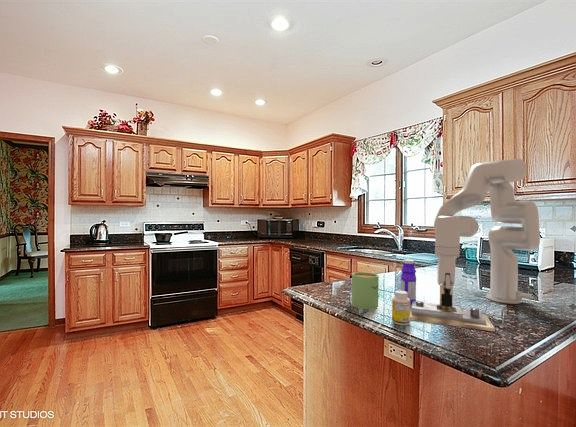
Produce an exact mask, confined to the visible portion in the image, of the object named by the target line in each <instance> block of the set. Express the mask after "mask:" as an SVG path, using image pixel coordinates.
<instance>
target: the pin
mask: <svg viewBox="0 0 576 427" xmlns="http://www.w3.org/2000/svg"><path fill="white" fill-rule="evenodd" d="M442 288H443V286H442V284H440V285H439V304H440V309H442V310H446V311H452V310H453V306H454V305H453V303H454V299H453V298H454V297H453V296H454V286H452V307H447V306H442V305H441V298H442ZM444 288H446V287H444Z"/></svg>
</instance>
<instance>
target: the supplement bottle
mask: <svg viewBox="0 0 576 427" xmlns="http://www.w3.org/2000/svg"><path fill="white" fill-rule="evenodd" d="M407 297H408V293H407V292H405V291H401V290H395V291H394V296H393V297H392V300H391V301H392V302H391V304H392V305H391V307H392V308H391V313H392V314H391V317H392V318H391V319H392V322H393V324H396V325H398V326H408V325H410V323H411V319H410V306H411V304H410V299H409V298H407Z"/></svg>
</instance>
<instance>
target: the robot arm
mask: <svg viewBox="0 0 576 427" xmlns="http://www.w3.org/2000/svg"><path fill="white" fill-rule="evenodd" d="M527 172H528V165H527V164H526V162H525V160H523V159H522V158H513V159H503V160H493V161H492V160H491V161H486V162H485V161H484V162H478V163H476V164H474V165H472V166H471V167H470V169H469V171H468V173H467V176H466V177H465V180H464V182H463V185H462V187H461V189H460V191H459V192H458V193H456V194H455V195H453V196H452V197H450V198H449V199H448V200H446V201H445V202H444V203H443V204H442V205H441V206H440V208H439V210H438V212H437V214H436V216H435V219H434V223H433V228H434V231H435V237H434V239H435V242H434V243H435V244H434V245H435V246H434V247H435V248H434V255H435V256H436V257H437V256H438V258H437V279H436V280H437V282H436V283H437V284H438V285H439V286H440V285H442V286H443V288H442V298H441V305H442V306H447V307H452V286H453V287H454V286H455V279H456V258H459V257H460V252H461V251H460V244H461V241H460V240H461V238H471V237H473V236H475V235H476V234H477V233H478V231H479V222H478V220H477V219H476V218H474V217H472V216H469V215H455V214H457V213H459V212H461V211H463V210H466V209H468V208H469V209H470V208H472V207H475V206H478V205H480V204H481V203H483V202H484V201H485V199H486V196H487V194H488V192H489V206H490V215H491V219H492V221H494V222H495V223H497V224H511V226H510V225H499V226H493V227H492V228H490V229H489V231H488V234H487V235H488V236H487V238H488V244H489V249H490V283H489V284H490V293H487V294H485V297H486V300H487V299H488V300H490V301H493V302H497V303H502V304H509V305H518V304H521V303H523V299H528V300H532V298H533V296H532V294H531V293H525V292H521V291H519V290H518V289H519V288H518V286H519V285H518V280H519V276H518V275H519V271H518V270H519V266H518V265H519V261H518V257H517V255H516V254H515V252H514V251H513V250H516V251H517V250H518V251H535V250H537V249H538V248H539V246H540V242H541V239H540V238H541V237H540V236H541V234H540V217H539V209H538V206H537V204H536V203H535V202H533V201H531V200H516V199H515V190H514V187H513V186H512V184H511V183H514V182H519V181H521V180H523V179H524V178H525V177H526V176H527ZM513 224H514V225H517V224H518V225H521V226H514V225H513ZM512 225H513V226H512ZM444 287H446V288H444Z"/></svg>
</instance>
